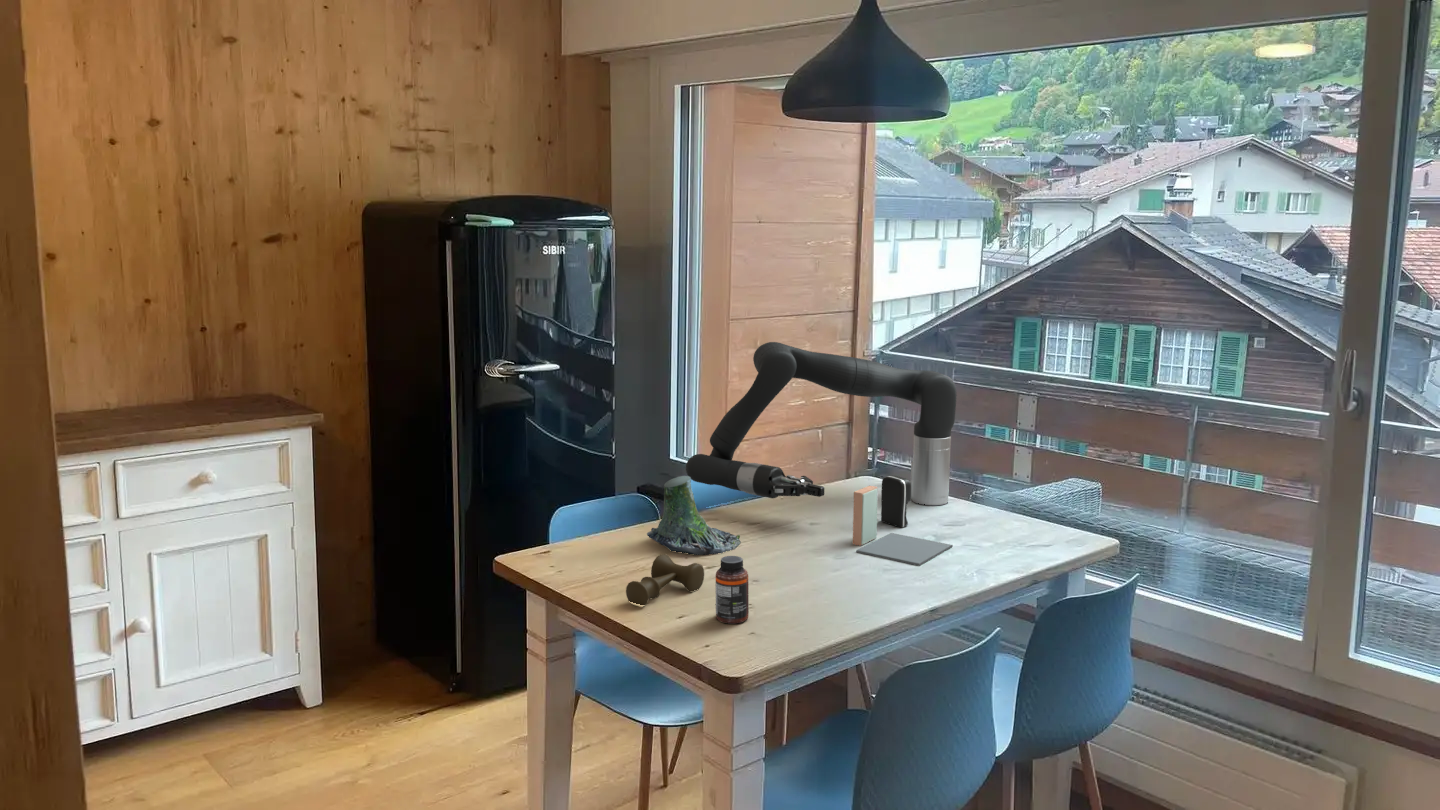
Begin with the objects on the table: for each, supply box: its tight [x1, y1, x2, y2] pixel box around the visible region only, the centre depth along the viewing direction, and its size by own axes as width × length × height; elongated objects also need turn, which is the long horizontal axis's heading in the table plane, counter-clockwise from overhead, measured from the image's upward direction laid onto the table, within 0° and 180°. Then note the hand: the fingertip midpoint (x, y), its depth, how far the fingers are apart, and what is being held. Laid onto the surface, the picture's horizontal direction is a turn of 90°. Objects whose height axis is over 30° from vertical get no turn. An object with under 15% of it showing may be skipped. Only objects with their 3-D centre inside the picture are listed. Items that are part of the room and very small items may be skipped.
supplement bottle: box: [714, 555, 750, 625], centre depth 189 cm, size 6×6×11 cm
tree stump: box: [646, 475, 742, 556], centre depth 232 cm, size 18×20×18 cm
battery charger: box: [880, 475, 912, 528], centre depth 249 cm, size 7×4×11 cm, turn 38°
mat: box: [856, 532, 953, 567], centre depth 230 cm, size 15×16×1 cm
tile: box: [852, 485, 879, 547], centre depth 235 cm, size 2×7×12 cm, turn 143°
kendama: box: [625, 553, 705, 605], centre depth 204 cm, size 6×10×20 cm
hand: (822, 491), depth 241 cm, fingers closed
